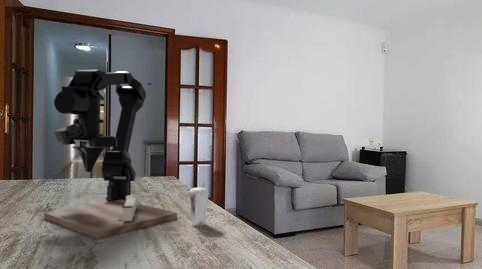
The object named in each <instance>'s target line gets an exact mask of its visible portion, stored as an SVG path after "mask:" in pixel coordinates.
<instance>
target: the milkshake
mask: <svg viewBox="0 0 482 269" xmlns="http://www.w3.org/2000/svg"><path fill="white" fill-rule="evenodd" d="M205 185H206V182H205V181H203V184H202V187H201V186H200V187H193V188H192V189H189V200H190V218H191V225H192V226H193V227H202V226H203V227H204V226H205V225H206V222H207V221H206V218H207V210H208V209H207V206H208V197H209V190H208V188H206V187H205Z"/></svg>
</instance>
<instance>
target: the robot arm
mask: <svg viewBox="0 0 482 269" xmlns="http://www.w3.org/2000/svg"><path fill="white" fill-rule="evenodd" d="M74 73H75V74H74V75H73V77H72V78H71V80H70V82H69V83H68V86H61V91H59V92H58V93H57V94H56V96H55V98H54V99H53V104H54V107H55V109H56V111H57V112H59V113H60V114H64V115H65V114H66V115H77V118H74V119H73V121H72V123H71V124H69V125H66V126H64V127H61V128H58V129H55V130H54V131H53V132H54V135H55V138H56V140H57V143H61V144H62V146H63V145H64V146H66V145H67V146H69V145H74V146H72V148H73V149H74V150H75V151H76V152H78V153H79V156H80V158H81V160H82V164H83V166H84V170H85V173H91V172H93V169H94V167H95V164H96V163H97V161H98V159H99V158H100V155H101V154H102V152H103V150H105V148H111V147H112V148H111V149H110V150H107V151H105V152H104V155H103V160H102V162H101V172H102V176H103V181H104V182H106V181H108V182H107V184H108V185H107V186H106V197H105V200H108V201H116V200H125V201H126V196H128V195H132V194H131V190H132V188H131V186H132V183H131V182H134V181H135V180H136V176H137V175H136V172H135V170H134V168H133V166H132V158H131V156H130V153H129V149H130V145H131V140H132V135H133V131H134V124H135V120H136V116H137V113H138V111H140V110H141V108H143V106H144V104H145V100H146V98H147V92H146V90H145V88H144V86H143V84H142V83H141V82H140V81H139V80H137V79H136V78H134V77H133V74H132V73H131V72H129V71H116V72H106V71H105V70H100V69H77V70H75V72H74ZM122 85H128V86H122ZM108 86H115V93H116V95H117V96H118V102H119V105H120V107H121V110H120V114H119V115H120V116H119V119H118V122H117V127H116V131H115V136H114V135H104V134H103V133H101V124H104V119H103V118H101V101H104V100H105V98H104V96H103V95H102V94H101V93H100V91H103V90H105V89H107V87H108Z"/></svg>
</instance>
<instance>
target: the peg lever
mask: <svg viewBox="0 0 482 269" xmlns="http://www.w3.org/2000/svg"><path fill="white" fill-rule="evenodd" d="M125 201H126V203H125V205H124V206H123V207H122V208H123V220H122V221H132V218H133V216H134V213H135V210H136V208H139V207H140V204H141V196H140V194H131V195H128V196H126V200H125Z"/></svg>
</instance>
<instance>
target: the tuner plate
mask: <svg viewBox="0 0 482 269" xmlns="http://www.w3.org/2000/svg"><path fill="white" fill-rule="evenodd" d="M125 203H126V200H116V201H111V200H109V201H106V202H100V203H94V204H87V205H84V206H76V207H70V208H64V209H59V210H53V211H48V212H44V214H43V215H44V218H43V219H44V220H46V221H49V222H51V223H54V224H57V225H60V226H61V227H65V228H66V229H70V230H73V231H75V232H77V233H80V234H84V235H86V236H88V237H91V238H94V239H96V240H100V239H103V238H107V237H111V236H116V235H119V234H123V233H127V232H130V231H134V230H138V229H142V228H146V227H149V226H153V225H158V224H163V223H166V222H169V221H173V220H177V219H178V212H175V211H171V210H166V209H163V208H158V207H154V206H150V205H145V204H141V203H140V207H139V208H136V210H135V213H134V216H133V218H132V221H122V220H123V208H122V207H123V206H124V205H125Z"/></svg>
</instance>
